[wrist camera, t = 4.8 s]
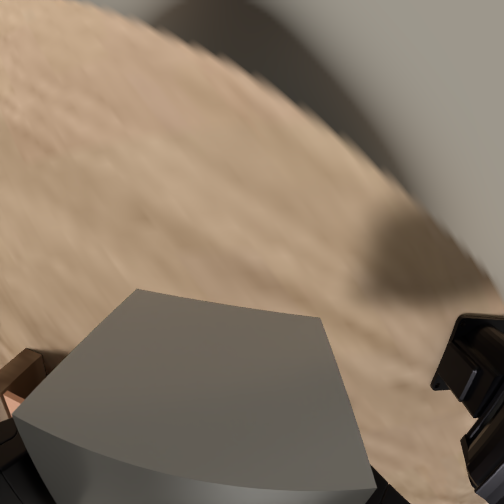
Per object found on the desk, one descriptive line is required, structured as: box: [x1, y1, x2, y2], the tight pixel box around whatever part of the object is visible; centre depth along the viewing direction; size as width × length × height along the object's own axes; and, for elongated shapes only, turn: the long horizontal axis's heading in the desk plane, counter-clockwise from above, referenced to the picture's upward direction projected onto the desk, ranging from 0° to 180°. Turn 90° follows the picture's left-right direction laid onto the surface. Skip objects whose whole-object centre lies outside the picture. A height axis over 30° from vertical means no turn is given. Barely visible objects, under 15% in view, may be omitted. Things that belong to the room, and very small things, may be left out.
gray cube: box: [12, 289, 377, 504], centre depth 7 cm, size 6×6×6 cm
